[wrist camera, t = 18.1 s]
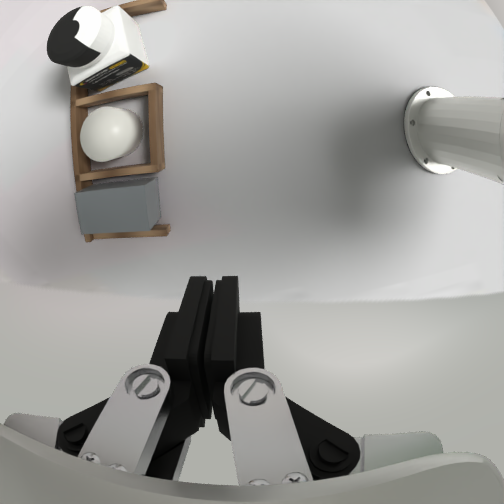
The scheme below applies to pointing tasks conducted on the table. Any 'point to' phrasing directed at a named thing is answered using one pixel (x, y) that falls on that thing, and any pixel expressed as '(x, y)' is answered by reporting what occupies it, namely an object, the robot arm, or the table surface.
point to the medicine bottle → (97, 47)
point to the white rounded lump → (110, 133)
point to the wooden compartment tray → (80, 102)
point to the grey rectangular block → (119, 206)
